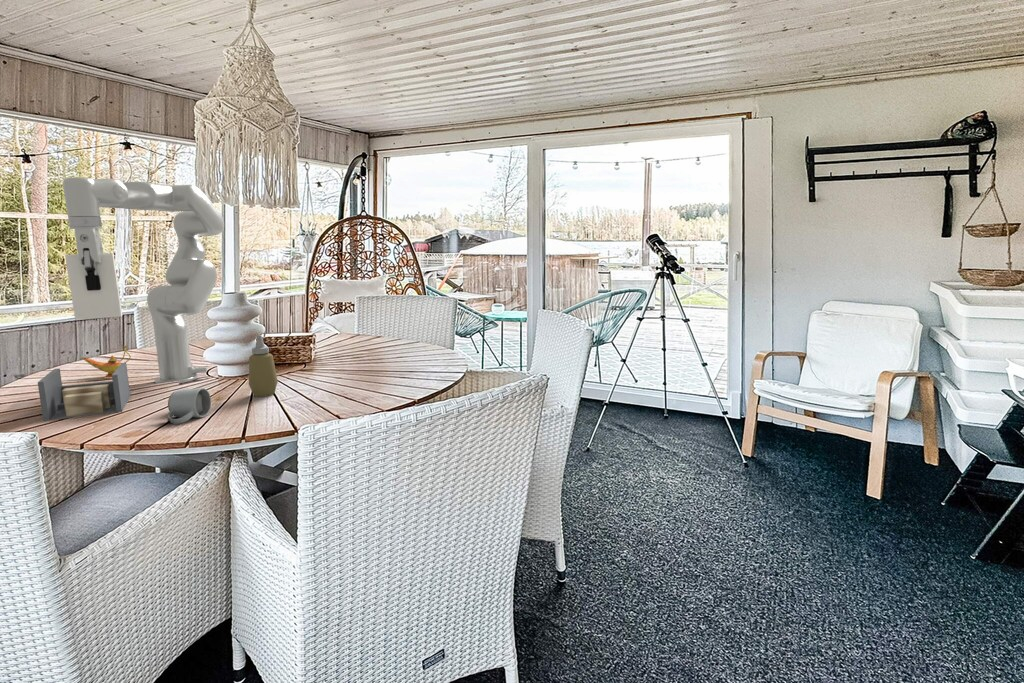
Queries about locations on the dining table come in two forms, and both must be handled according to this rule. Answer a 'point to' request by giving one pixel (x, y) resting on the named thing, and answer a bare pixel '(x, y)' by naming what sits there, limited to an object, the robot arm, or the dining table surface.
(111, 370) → the magic lamp
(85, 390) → the oak offcut tall
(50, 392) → the rack
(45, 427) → the dining table surface
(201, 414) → the ceramic mug
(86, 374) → the dining table surface
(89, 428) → the dining table surface
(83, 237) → the robot arm
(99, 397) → the oak offcut short
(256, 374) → the squeeze bottle
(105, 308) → the white panel
